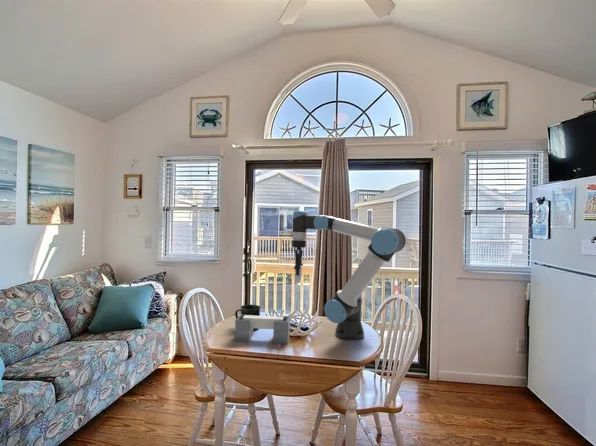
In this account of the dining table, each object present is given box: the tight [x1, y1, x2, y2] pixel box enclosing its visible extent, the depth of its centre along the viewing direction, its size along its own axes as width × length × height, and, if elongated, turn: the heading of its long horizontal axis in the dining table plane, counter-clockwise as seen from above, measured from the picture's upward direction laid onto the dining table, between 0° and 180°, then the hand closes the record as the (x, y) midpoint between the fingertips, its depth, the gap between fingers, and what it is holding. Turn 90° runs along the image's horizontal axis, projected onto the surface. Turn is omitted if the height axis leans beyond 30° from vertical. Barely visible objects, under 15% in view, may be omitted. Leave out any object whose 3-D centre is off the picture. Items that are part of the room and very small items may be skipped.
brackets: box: [234, 313, 291, 345], centre depth 176 cm, size 26×11×10 cm, turn 87°
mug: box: [234, 304, 262, 332], centre depth 194 cm, size 11×15×12 cm
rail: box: [243, 315, 284, 330], centre depth 176 cm, size 20×5×5 cm, turn 86°
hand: (298, 279), depth 187 cm, fingers open, 13 cm apart
